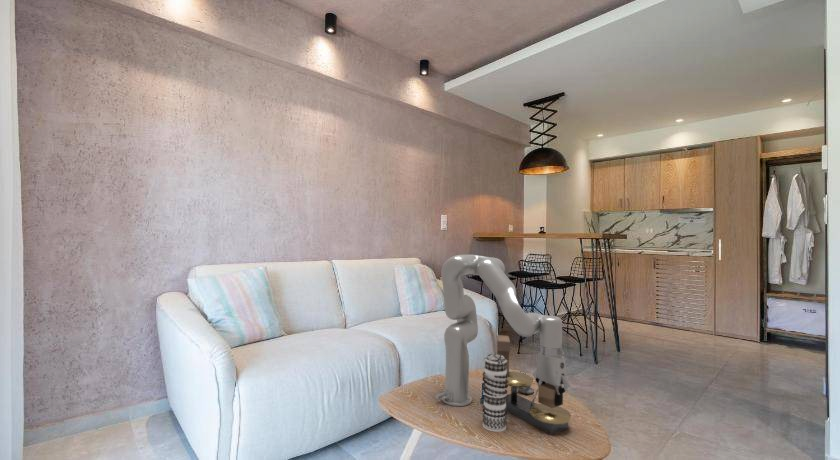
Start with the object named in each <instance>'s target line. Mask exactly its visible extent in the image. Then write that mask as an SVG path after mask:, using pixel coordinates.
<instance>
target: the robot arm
mask: <svg viewBox="0 0 840 460" xmlns="http://www.w3.org/2000/svg"><path fill="white" fill-rule="evenodd" d="M505 272H506V266H505V264H504V262H503V261H502V260H501V259H500V258H497V257H491V256H486V255H485V256H484V255H477V254H457V255H453V256H451V257H449V258H448V259H446V260H445V262H444V263H443V265H442V266H441V273H440V274H441V276H440V277H441V283H442V290H443V291H442V292H443V304H444V312H445V315H446V317H447V318H448V319H450V320H453V321H454V320H455V321H456V322H454V323H451V324H450V325H449V326H447V328H446V329H445V331H444V334H443V338H444V339H443V340H444V346H445V381H444V382H445V385H444V388H442V392H441V393H440V392H439V393H435V398H436V400H439V399H441V401H442V402H443V403H444V404H446V405H448V406H452V407H466V406H468V405H470V404H471V403H472V402H473V397H472V396H471V395H470V394H469V377H470V376H469V374H470V372H469V370H470V368H469V367H470V366H469V365H470V355H469V351H468V350H469V349H468V344H469V343H471V342H473V341H474V340H475V339H476V338H477V337H478V334H479V328H478V327H479V326H478V324H479V323H478V316H477V307H476V304H475V301H474V299H473V298H472V297H471V296H470V295H468V294H465V292H464V284H463V281H462V279H461V278H462V277H461V276H465V275H467V276H468V275H475V276H479V277H480V278H481V280H482V281H483V283H484V284H485V285H486V286H487V288H488V289H489V290H490V291H491V292H492V294H493V295H494V297H495V298H496V300H497V303H498V305H499V308H500V311H501V313H502V315H503V317H504V318H505V320H506V321H507V322H508V324H509V325H510V327H511V328H512V329H513V330H514V331H515V333H517V334H518V335H519V336H521V337H525V338H528V337H529V338H530V337H532V336H533V335H535V334H538V333H539V352H538V355H537V360H536V369H535V370H534V371H533V372H532V376H533V378H534V380H535V382H536V383H537V386H538V385H542V384H545V383H549V384H552V385H554V386H555V390H556V393H557V394H555V405H556V406H558V405H560V406H562V405H561V404H562V394H563V395H564V393H566V392H567V391H568V390H569V389H571V384H570V383H569V382H568V380H567V379H568V376H567V366H566V364H567V363H566V359H565V357H564V355H565V351H564V350H563V320H562V318H560V316H556V315H545V314H541V313H538V312H525V311H524V308H522V307H521V305H520V303H519V301H518V299H517V292H516V290H517V289H516V286H515V284H514V283H513V281H511V279H510V278H509V277H508V276H507V275H506V273H505ZM559 389H560V390H559Z"/></svg>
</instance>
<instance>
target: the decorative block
mask: <svg viewBox="0 0 840 460" xmlns="http://www.w3.org/2000/svg"><path fill="white" fill-rule="evenodd" d="M510 353H511V340H510V336H509V335H502V334H498V335H496V354H500V355H502V356H504V358H505V359H506V360H507V362H506V369H507V371H508V372H509V371H510Z"/></svg>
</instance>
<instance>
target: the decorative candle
mask: <svg viewBox="0 0 840 460" xmlns="http://www.w3.org/2000/svg"><path fill="white" fill-rule="evenodd" d="M483 361H484V369H483V370H484V371H483V373H482V382H483V383H482V392H483V394H484V397H483V398H484V399H483V404H482V420H481V421H482V427H483V428H484V429H485V430H487V431H490V432H495V433H497V432H504V431H505V430H507V424H508V423H507V422H508V421H507V419H508V418H507V417H508V416H507V415H508V412H507V411H506V410H507V407H506V396H507V395H508V390H507V388H508V387H509V386H508V385H507V383H508V380H506V378H508V377H509V376H508V374H507V373H508V371H507V369H506V362H507V360H506V359H505V358H504V356H502V355H500V354H497V353H489V354H487V355H486V357H485V358H484V360H483Z"/></svg>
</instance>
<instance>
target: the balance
mask: <svg viewBox="0 0 840 460" xmlns="http://www.w3.org/2000/svg"><path fill="white" fill-rule="evenodd" d="M523 373H524V372H521V373H520V371H519V372H518V371H511V370H509V372H508V373H507V374H508V376H509V377H508V378H506V380H508V383H507V385H508V387H510V393H509V394H508V393H507V396H506V407H507V410H506V411H507V413H509V414H511V415H513V416H515V417H517V418H519V419H521V420H523V421H525V422H526V423H529V424H531V425H532V426H534V427H535V428H538V429H539V430H541V431H544V432H545V433H548V434H549V435H551V436H554V435H555V434H558V433H561V432H563V431H565V430H568V429H569V423H570V421H571V419H572V417H571V415H572V414H571V413H570V412H569V411H568V410H567V409H565V408H563V407H561V406H558V407H555V408H550V407H548V406H546V405H544V404H541V403H536V402H535V400H536V397H537V395H538V389H535V391H534V395H533V397H532V399H531V400H530V399H528V398H525V397H523V396H521V395H520V394H519V395H518V389H517V387H527V386H531V385H533V383H534V381H533V377H532V376H530V375H529V374H527V373H526V374H525V373H524V374H523Z"/></svg>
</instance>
